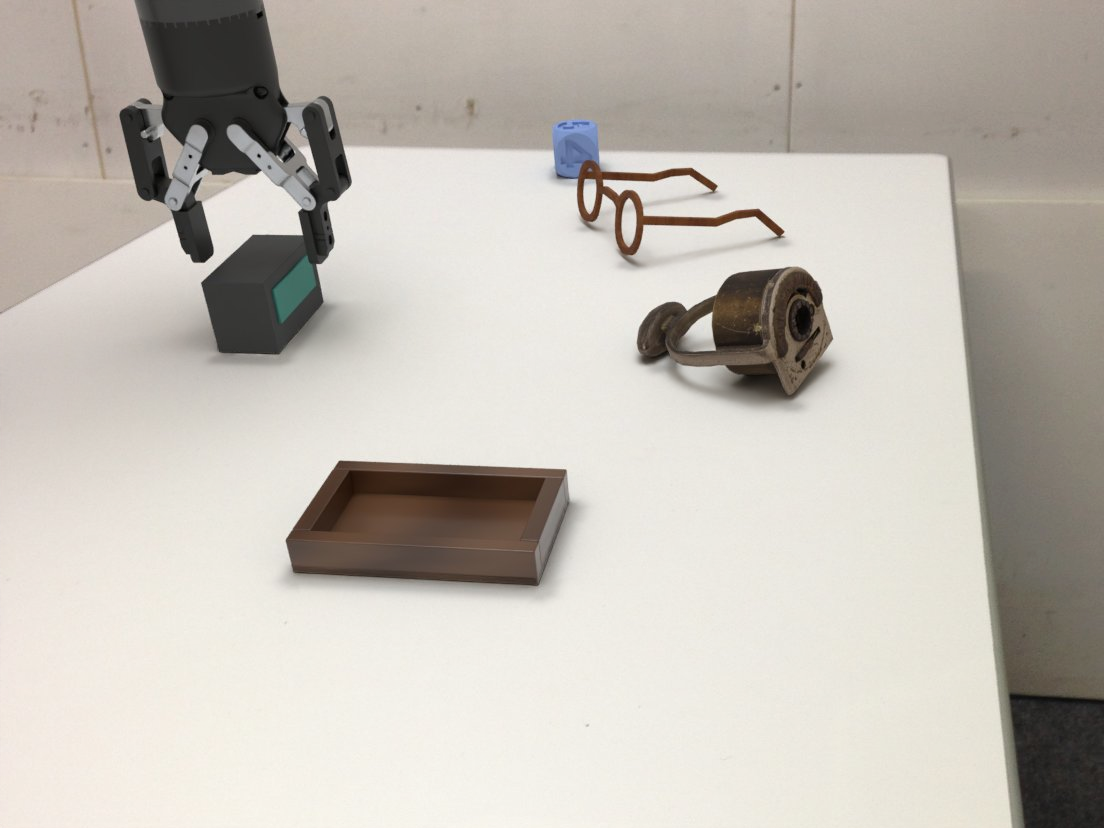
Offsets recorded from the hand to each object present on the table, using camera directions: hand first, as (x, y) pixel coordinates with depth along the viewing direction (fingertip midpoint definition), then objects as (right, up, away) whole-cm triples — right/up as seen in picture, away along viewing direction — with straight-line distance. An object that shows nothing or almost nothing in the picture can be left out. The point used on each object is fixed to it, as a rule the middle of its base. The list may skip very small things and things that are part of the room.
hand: (262, 259), depth 88 cm
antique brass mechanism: (+32, -8, -5) cm, 34 cm away
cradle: (+15, -21, -20) cm, 33 cm away
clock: (0, -4, +3) cm, 5 cm away
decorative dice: (+20, +16, +28) cm, 39 cm away
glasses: (+29, +7, +16) cm, 34 cm away
